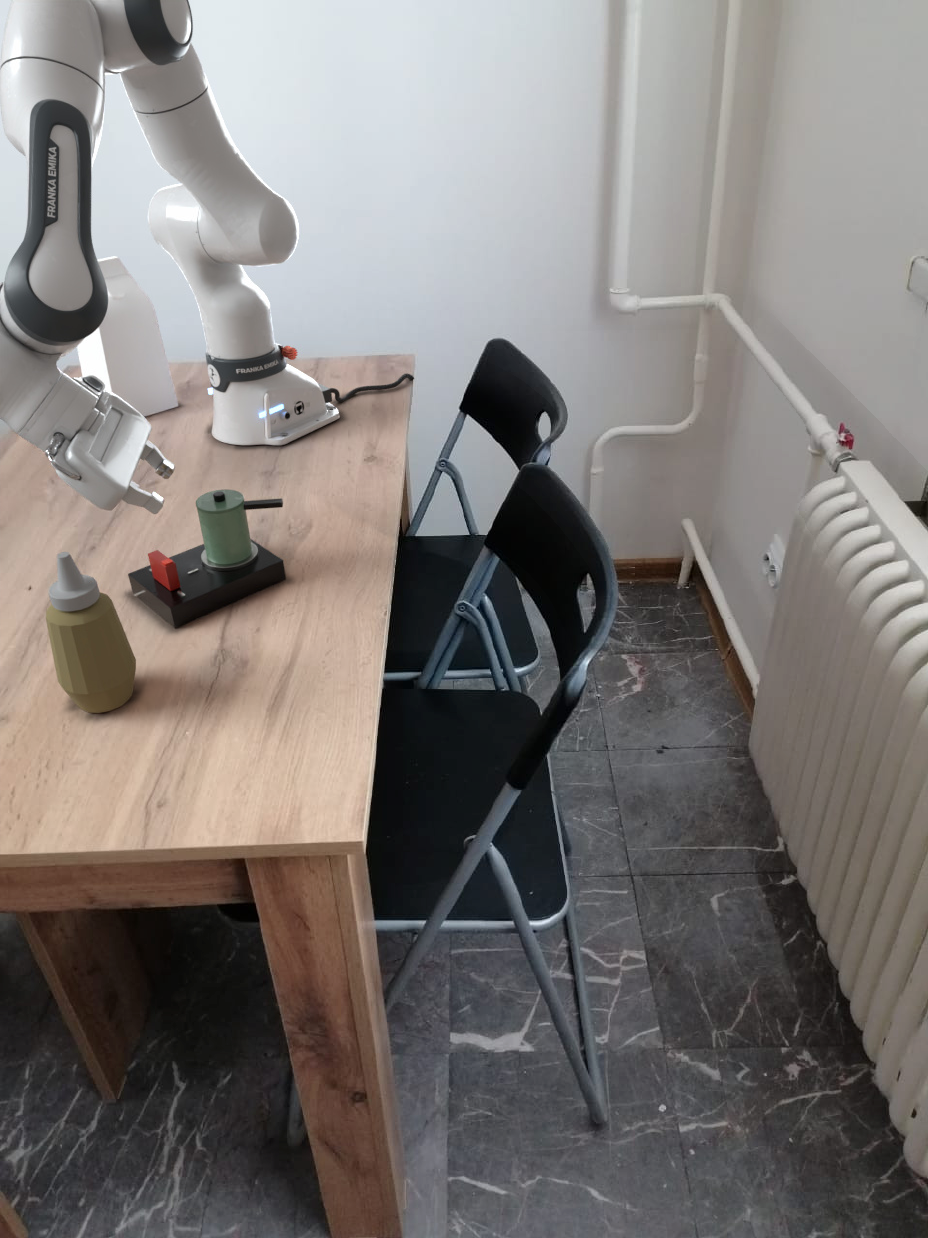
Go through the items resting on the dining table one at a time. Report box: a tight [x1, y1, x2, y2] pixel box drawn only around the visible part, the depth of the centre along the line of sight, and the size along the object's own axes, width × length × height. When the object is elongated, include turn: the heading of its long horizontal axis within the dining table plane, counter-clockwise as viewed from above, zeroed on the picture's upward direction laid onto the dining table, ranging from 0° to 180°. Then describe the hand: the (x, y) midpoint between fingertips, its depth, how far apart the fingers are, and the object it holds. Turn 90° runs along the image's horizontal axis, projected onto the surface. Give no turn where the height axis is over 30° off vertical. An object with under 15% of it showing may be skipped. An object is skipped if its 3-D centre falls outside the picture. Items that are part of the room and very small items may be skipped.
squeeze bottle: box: [45, 551, 137, 714], centre depth 98 cm, size 8×8×18 cm
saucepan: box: [195, 489, 284, 564], centre depth 119 cm, size 9×8×8 cm
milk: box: [76, 255, 179, 418], centre depth 166 cm, size 12×12×26 cm
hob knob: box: [147, 549, 181, 591], centre depth 115 cm, size 4×1×4 cm, turn 43°
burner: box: [201, 542, 258, 571], centre depth 121 cm, size 7×7×1 cm
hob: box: [127, 538, 287, 629], centre depth 120 cm, size 18×11×3 cm, turn 133°
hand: (166, 489), depth 115 cm, fingers open, 8 cm apart
